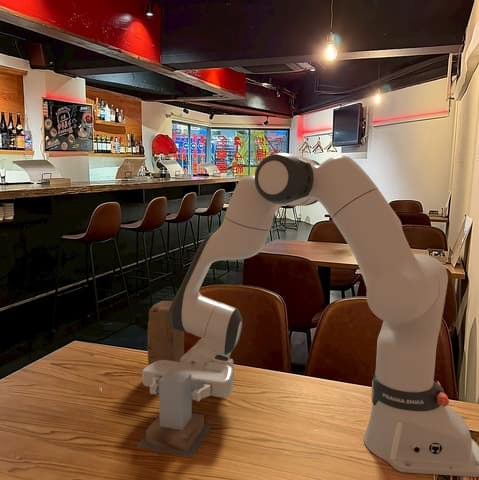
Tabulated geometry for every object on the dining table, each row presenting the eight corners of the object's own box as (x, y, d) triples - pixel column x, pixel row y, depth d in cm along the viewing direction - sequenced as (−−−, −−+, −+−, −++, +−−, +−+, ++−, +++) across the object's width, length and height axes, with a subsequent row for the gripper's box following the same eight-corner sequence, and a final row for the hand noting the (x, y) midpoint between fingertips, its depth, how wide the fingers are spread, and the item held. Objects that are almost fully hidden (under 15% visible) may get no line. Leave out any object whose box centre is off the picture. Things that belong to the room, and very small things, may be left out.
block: (171, 383, 123) (170, 310, 120) (145, 379, 125) (143, 307, 122) (187, 367, 133) (187, 299, 130) (163, 363, 136) (162, 296, 133)
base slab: (203, 427, 102) (203, 414, 101) (187, 451, 93) (187, 437, 93) (165, 421, 104) (165, 408, 104) (146, 443, 96) (146, 429, 95)
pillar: (191, 417, 100) (191, 373, 98) (182, 430, 95) (181, 383, 94) (170, 414, 101) (169, 370, 100) (159, 426, 96) (159, 380, 95)
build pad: (212, 426, 103) (212, 425, 103) (191, 458, 91) (191, 457, 91) (162, 418, 106) (162, 416, 106) (136, 448, 95) (136, 446, 95)
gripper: (157, 349, 112) (127, 373, 99) (239, 359, 106) (220, 386, 93) (157, 374, 113) (128, 401, 100) (239, 386, 107) (220, 416, 94)
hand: (173, 394), depth 96 cm, fingers open, 8 cm apart
